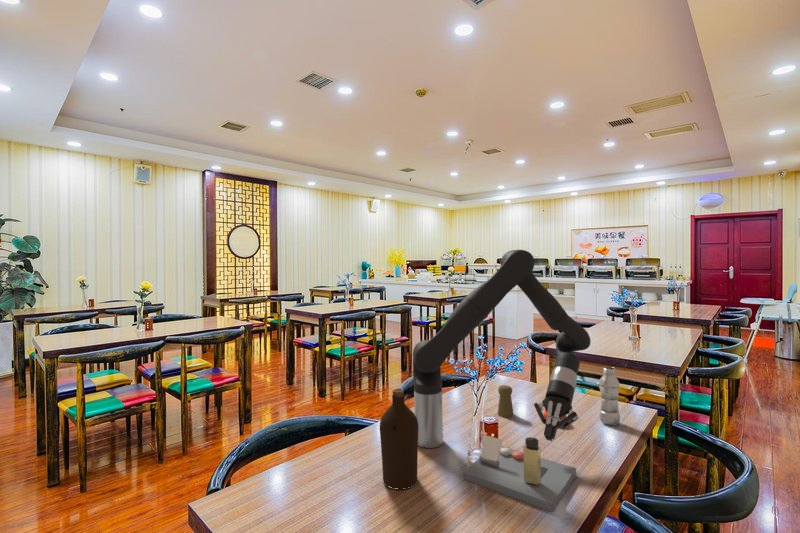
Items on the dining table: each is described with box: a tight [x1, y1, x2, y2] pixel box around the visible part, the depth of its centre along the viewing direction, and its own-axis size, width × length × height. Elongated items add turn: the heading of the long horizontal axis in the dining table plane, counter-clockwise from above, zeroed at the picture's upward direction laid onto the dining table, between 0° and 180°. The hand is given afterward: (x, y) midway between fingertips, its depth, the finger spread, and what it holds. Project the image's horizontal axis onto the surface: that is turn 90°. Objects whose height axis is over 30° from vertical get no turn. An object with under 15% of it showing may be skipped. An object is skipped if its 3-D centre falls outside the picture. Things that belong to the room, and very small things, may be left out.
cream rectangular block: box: [478, 434, 503, 467], centre depth 115 cm, size 6×2×7 cm, turn 51°
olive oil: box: [379, 388, 419, 489], centre depth 110 cm, size 11×11×25 cm
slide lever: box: [522, 437, 542, 486], centre depth 104 cm, size 4×3×11 cm
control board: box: [463, 445, 577, 513], centre depth 111 cm, size 24×20×3 cm
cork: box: [497, 384, 515, 419], centre depth 154 cm, size 6×6×11 cm
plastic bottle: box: [598, 366, 621, 426], centre depth 144 cm, size 6×7×20 cm
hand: (548, 439), depth 115 cm, fingers closed
